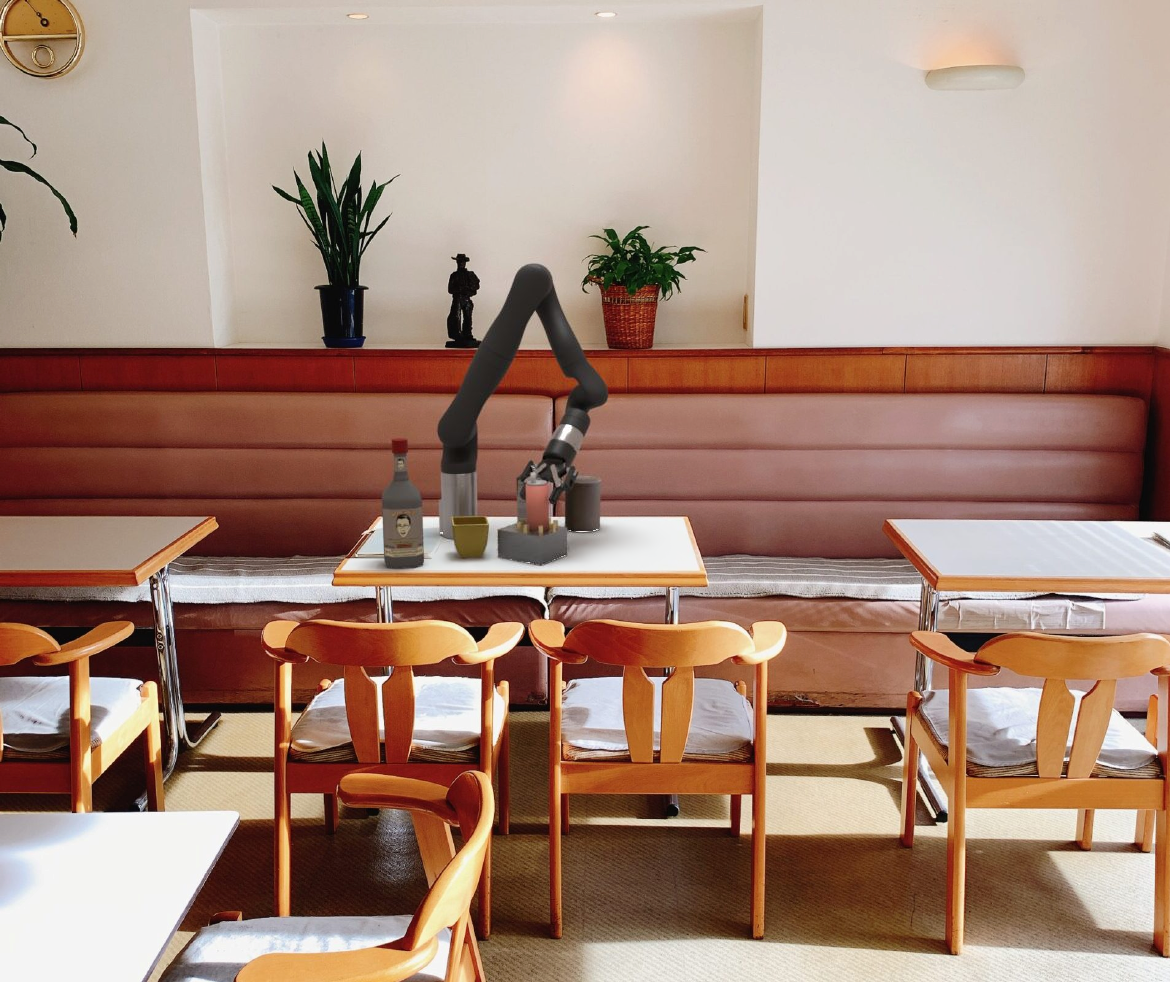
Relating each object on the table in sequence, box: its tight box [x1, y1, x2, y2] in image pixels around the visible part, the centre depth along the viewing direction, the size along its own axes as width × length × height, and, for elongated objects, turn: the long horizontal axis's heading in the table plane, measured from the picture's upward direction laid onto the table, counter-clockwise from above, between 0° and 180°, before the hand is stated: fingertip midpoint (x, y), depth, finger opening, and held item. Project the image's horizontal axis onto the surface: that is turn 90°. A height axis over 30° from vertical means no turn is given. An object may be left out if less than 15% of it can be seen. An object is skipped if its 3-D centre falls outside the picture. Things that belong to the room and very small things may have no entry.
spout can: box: [526, 473, 550, 531], centre depth 252 cm, size 5×5×14 cm
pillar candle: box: [564, 474, 602, 531], centre depth 281 cm, size 10×10×15 cm
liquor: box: [381, 437, 425, 570], centre depth 246 cm, size 9×9×30 cm
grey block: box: [497, 516, 568, 566], centre depth 255 cm, size 16×11×9 cm
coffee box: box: [516, 473, 549, 523], centre depth 276 cm, size 9×6×16 cm
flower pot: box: [451, 515, 490, 559], centre depth 255 cm, size 9×9×9 cm
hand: (536, 500), depth 252 cm, fingers open, 8 cm apart
